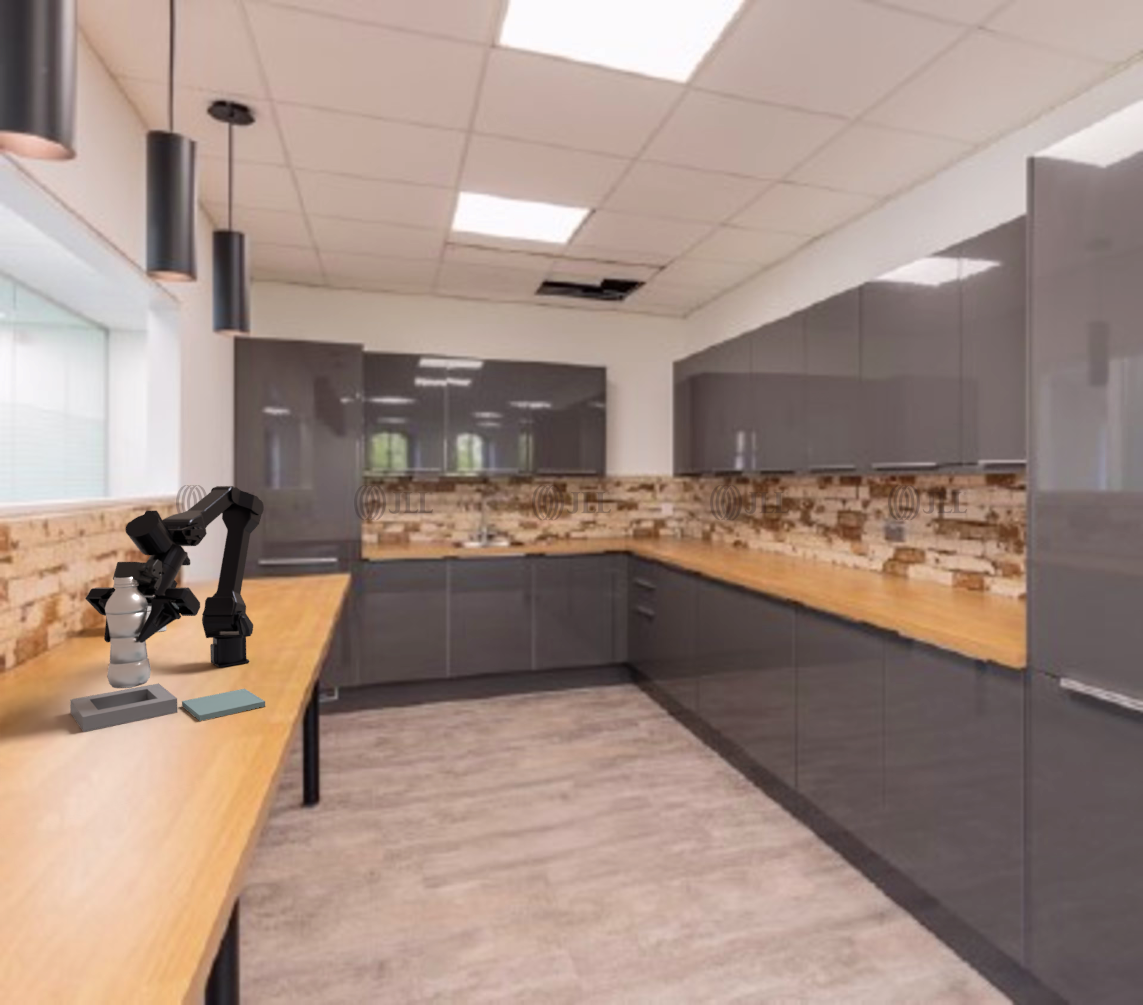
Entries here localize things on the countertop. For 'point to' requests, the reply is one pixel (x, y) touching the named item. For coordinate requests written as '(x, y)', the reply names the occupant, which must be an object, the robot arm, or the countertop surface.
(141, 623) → the plastic bottle
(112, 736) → the countertop surface
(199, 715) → the coaster
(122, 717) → the pocket holder
